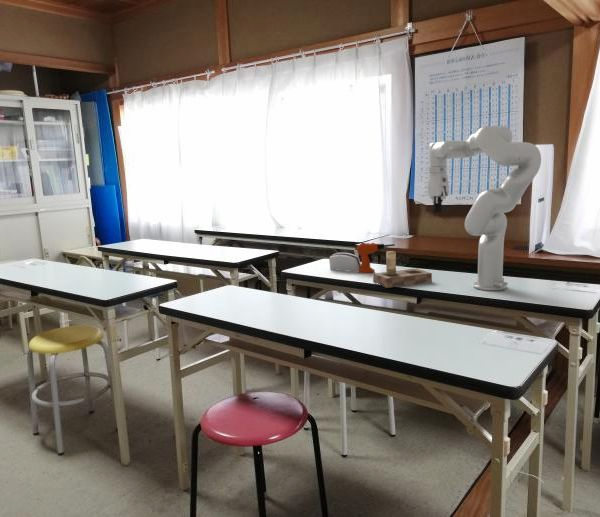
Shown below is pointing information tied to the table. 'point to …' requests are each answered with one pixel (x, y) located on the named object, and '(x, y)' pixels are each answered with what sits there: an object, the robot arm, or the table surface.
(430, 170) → the robot arm
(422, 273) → the board
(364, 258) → the toy drill
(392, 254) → the peg
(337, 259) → the grey toaster
